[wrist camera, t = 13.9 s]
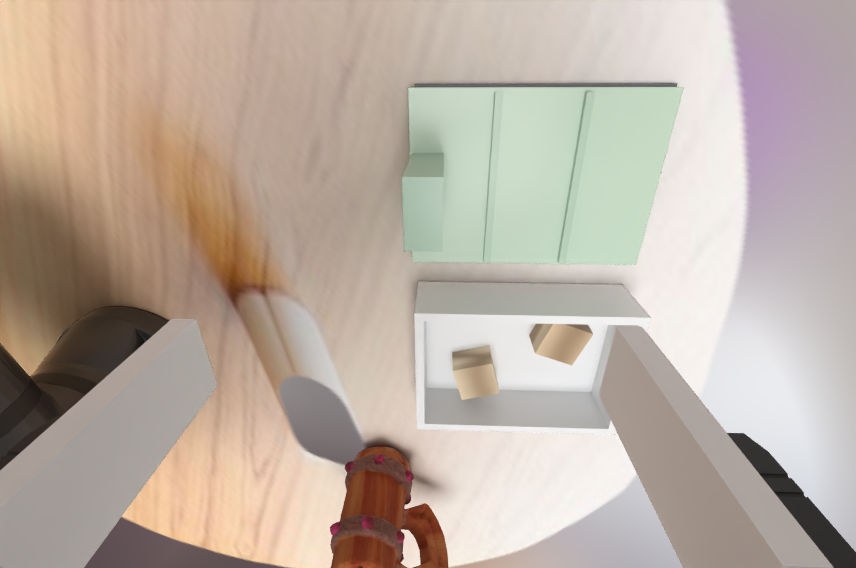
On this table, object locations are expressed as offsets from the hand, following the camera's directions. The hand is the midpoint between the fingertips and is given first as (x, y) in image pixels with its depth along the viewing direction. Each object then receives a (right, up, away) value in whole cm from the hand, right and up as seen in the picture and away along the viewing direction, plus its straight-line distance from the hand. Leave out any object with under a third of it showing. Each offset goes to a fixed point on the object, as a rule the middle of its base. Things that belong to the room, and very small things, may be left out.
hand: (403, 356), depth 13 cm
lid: (+10, +11, +21) cm, 26 cm away
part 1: (+6, -6, +30) cm, 31 cm away
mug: (-3, -22, +40) cm, 46 cm away
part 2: (+14, -2, +27) cm, 31 cm away
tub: (+10, -4, +29) cm, 31 cm away
